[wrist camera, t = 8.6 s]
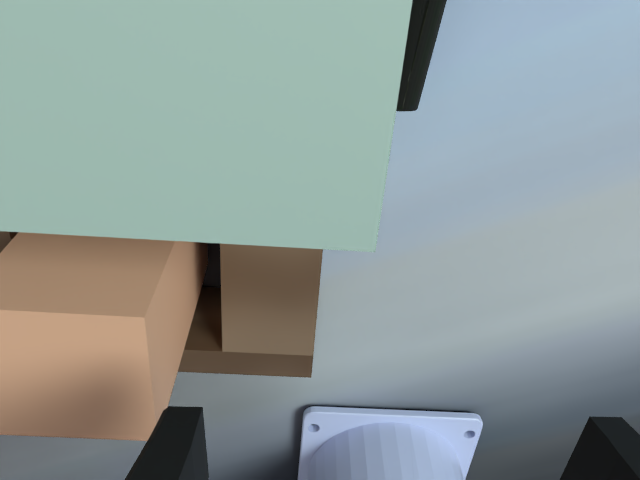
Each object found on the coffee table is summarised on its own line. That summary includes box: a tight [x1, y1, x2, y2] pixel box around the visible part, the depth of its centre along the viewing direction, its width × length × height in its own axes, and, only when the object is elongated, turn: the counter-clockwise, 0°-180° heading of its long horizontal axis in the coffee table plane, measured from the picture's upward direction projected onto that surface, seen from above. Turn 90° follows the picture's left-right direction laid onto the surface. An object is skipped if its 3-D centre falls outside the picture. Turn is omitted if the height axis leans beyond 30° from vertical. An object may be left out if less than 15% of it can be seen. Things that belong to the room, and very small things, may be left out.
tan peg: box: [0, 232, 208, 441], centre depth 16 cm, size 4×4×8 cm
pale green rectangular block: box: [0, 0, 413, 252], centre depth 12 cm, size 5×13×10 cm, turn 86°
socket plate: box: [0, 231, 323, 378], centre depth 17 cm, size 12×12×4 cm
